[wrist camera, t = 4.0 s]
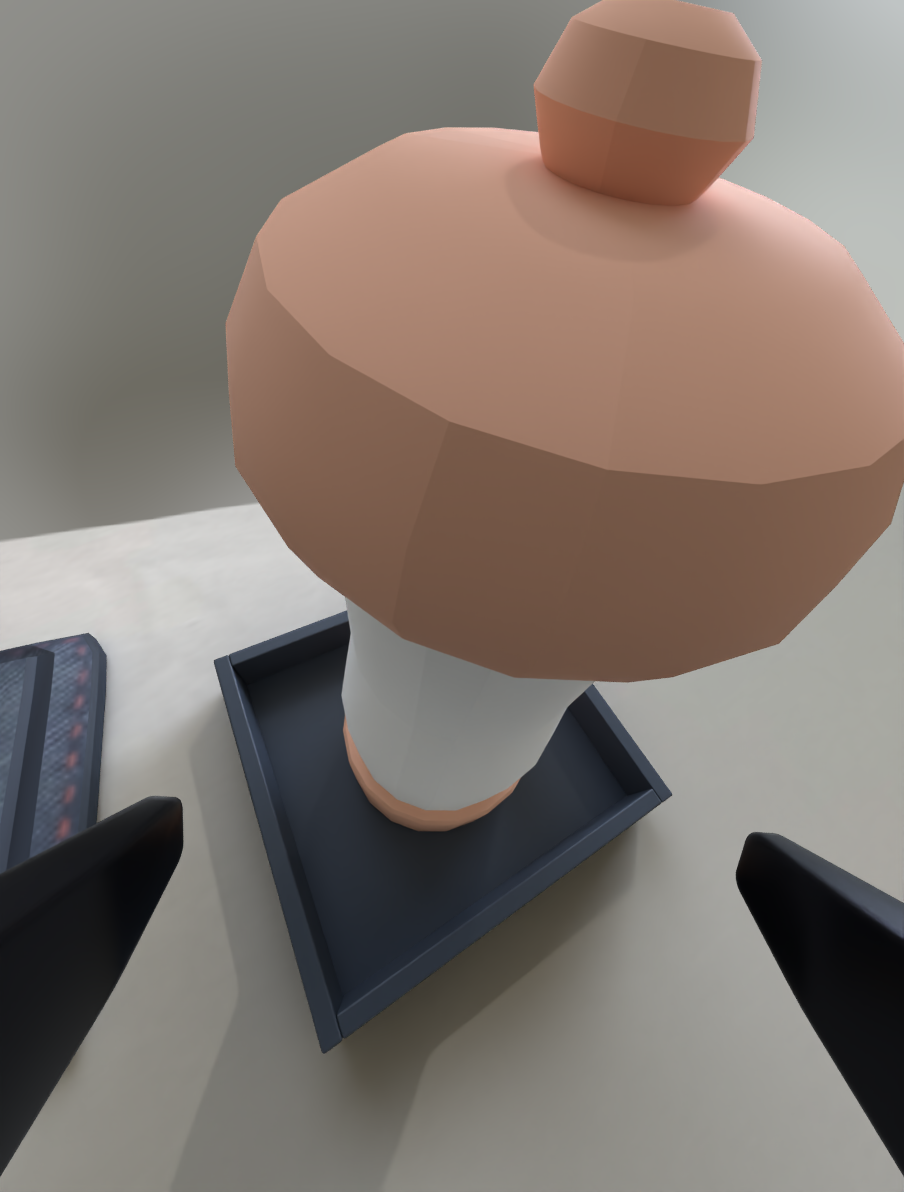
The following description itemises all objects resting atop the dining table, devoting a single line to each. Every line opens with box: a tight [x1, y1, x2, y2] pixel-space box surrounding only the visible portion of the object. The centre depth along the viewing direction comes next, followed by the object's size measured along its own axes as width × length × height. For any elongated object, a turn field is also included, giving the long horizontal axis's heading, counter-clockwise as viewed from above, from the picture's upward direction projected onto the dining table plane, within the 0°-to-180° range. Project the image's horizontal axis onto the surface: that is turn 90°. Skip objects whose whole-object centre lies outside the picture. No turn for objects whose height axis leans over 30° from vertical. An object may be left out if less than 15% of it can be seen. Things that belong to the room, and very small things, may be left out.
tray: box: [214, 611, 672, 1054], centre depth 18 cm, size 14×13×3 cm
